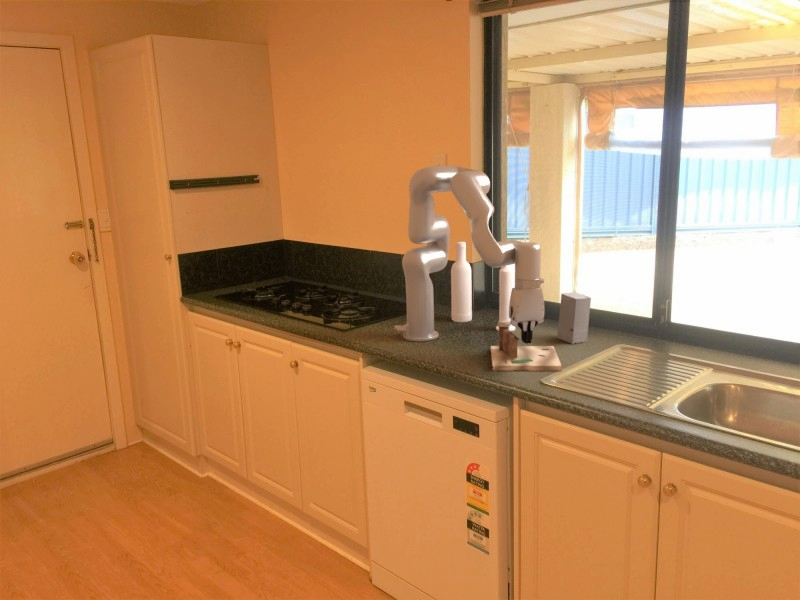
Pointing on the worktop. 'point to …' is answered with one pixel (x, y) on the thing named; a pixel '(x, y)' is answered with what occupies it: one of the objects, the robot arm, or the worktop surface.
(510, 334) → the peg
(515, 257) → the robot arm
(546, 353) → the tuner plate
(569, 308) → the skincare box
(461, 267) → the bottle
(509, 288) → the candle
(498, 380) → the worktop surface
